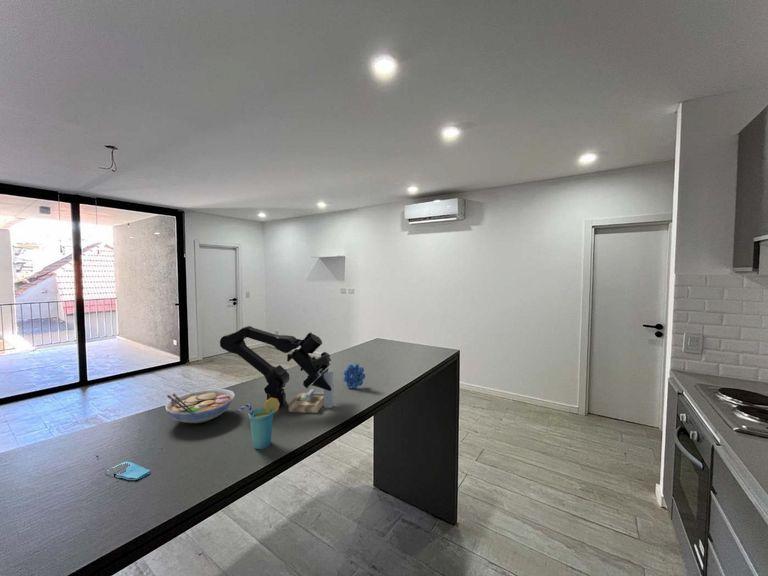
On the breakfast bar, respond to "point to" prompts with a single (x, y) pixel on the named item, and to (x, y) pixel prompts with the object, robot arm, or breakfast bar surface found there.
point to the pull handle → (327, 394)
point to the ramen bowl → (199, 405)
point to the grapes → (354, 376)
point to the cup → (262, 422)
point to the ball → (303, 398)
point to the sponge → (133, 471)
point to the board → (306, 404)
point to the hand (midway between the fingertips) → (331, 388)
